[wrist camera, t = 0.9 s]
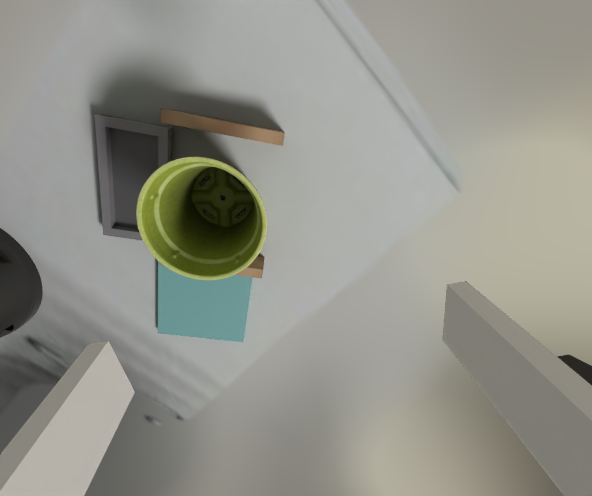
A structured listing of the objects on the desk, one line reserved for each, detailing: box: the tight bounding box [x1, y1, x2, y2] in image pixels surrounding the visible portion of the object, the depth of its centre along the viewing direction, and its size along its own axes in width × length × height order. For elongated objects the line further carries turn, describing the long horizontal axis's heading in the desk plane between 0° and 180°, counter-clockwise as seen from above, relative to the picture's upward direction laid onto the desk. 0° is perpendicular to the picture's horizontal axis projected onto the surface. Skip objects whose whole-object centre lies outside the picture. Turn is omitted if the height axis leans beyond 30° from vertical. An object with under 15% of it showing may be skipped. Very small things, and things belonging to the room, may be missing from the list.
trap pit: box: [95, 115, 172, 240], centre depth 28 cm, size 6×11×1 cm, turn 170°
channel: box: [160, 109, 285, 278], centre depth 28 cm, size 10×14×3 cm
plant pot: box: [136, 157, 267, 280], centre depth 26 cm, size 9×9×9 cm
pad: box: [158, 261, 252, 342], centre depth 34 cm, size 10×10×1 cm
